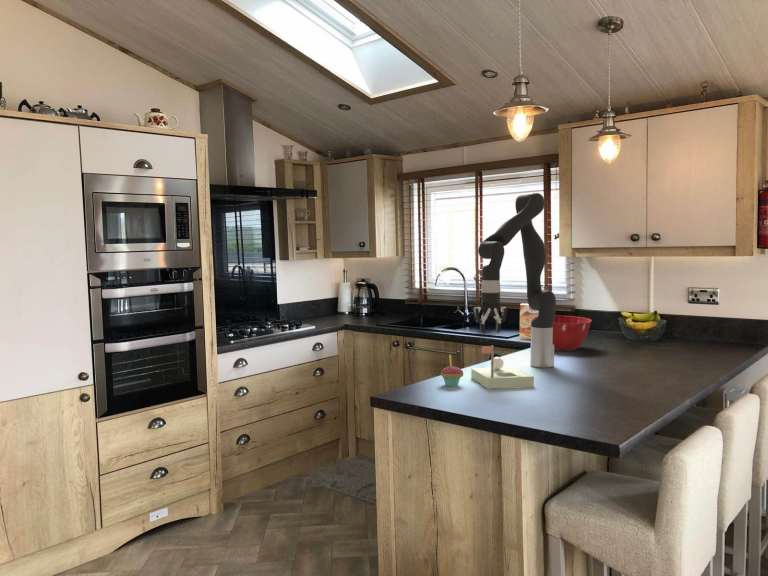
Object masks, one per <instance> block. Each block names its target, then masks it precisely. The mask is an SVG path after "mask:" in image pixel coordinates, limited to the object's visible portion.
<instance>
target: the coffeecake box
mask: <svg viewBox="0 0 768 576" xmlns="http://www.w3.org/2000/svg"><path fill="white" fill-rule="evenodd" d="M538 314H539V311H536V310H532V309H531V308H530V307H529V305H528V303H520V305H519V340H530V339H531V321H532V320H533V318H534V317H538Z"/></svg>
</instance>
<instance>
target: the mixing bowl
mask: <svg viewBox="0 0 768 576" xmlns="http://www.w3.org/2000/svg"><path fill="white" fill-rule="evenodd" d="M536 318H537V317H534V318H533V319H536ZM591 322H592V319H591V318H587V317H581V316H574V315H555V319H554V322H553V341H552V344H553V345H554V352H556V351H557V352H572V351H571V350H573V351H576V350H577V349H579V347H581V346H582V345H583V342H585V340H586V337H587V335H588V333H589V330H590V327H591Z"/></svg>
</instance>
